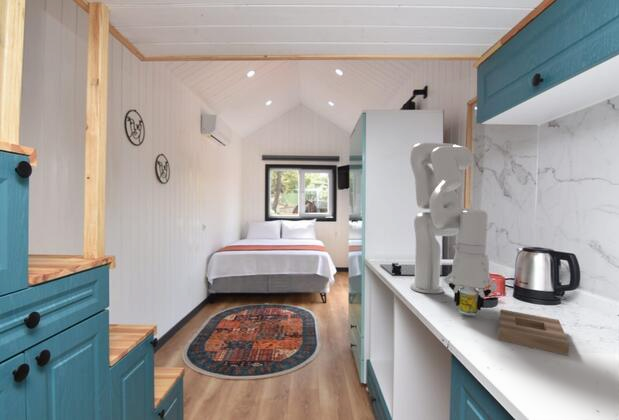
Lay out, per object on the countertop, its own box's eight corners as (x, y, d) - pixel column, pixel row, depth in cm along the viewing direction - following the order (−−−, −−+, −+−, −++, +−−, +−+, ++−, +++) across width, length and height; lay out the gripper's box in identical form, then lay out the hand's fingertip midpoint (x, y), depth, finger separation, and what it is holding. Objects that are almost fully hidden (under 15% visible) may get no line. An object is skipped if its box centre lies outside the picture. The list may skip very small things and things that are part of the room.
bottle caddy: (500, 318, 95) (500, 309, 95) (558, 330, 87) (558, 319, 87) (498, 339, 80) (498, 328, 80) (568, 355, 72) (569, 342, 72)
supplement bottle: (480, 313, 97) (482, 283, 96) (474, 317, 93) (475, 286, 92) (462, 308, 100) (464, 279, 100) (455, 312, 97) (457, 281, 96)
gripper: (439, 247, 97) (437, 304, 98) (504, 255, 88) (500, 317, 89) (444, 245, 103) (441, 298, 104) (504, 251, 94) (500, 309, 95)
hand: (468, 306), depth 97 cm, fingers closed on supplement bottle, 5 cm apart
